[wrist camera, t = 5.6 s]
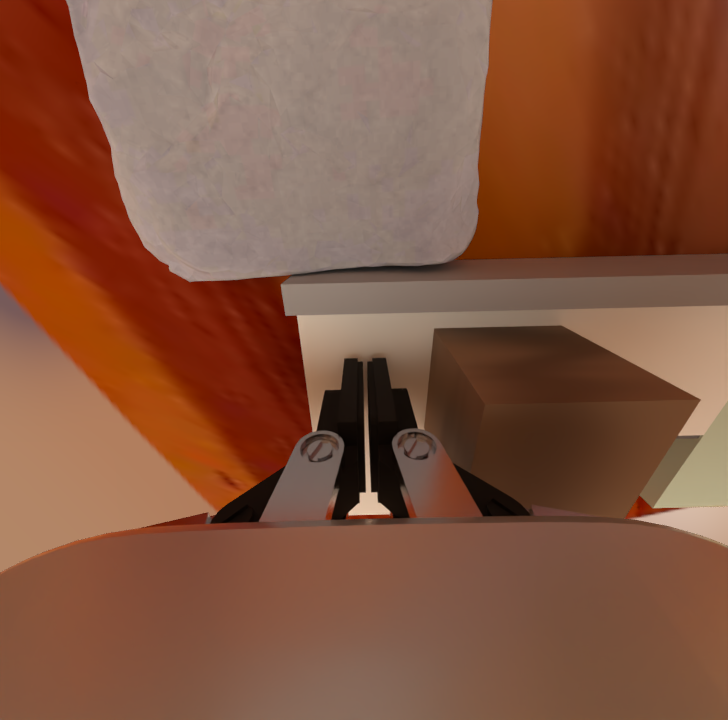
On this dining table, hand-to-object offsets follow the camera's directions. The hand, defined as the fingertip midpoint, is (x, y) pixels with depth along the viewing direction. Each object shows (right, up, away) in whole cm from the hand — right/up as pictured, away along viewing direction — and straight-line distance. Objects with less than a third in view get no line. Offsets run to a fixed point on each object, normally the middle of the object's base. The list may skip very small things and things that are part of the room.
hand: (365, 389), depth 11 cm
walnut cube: (+5, 0, +1) cm, 5 cm away
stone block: (-2, +10, -1) cm, 10 cm away
